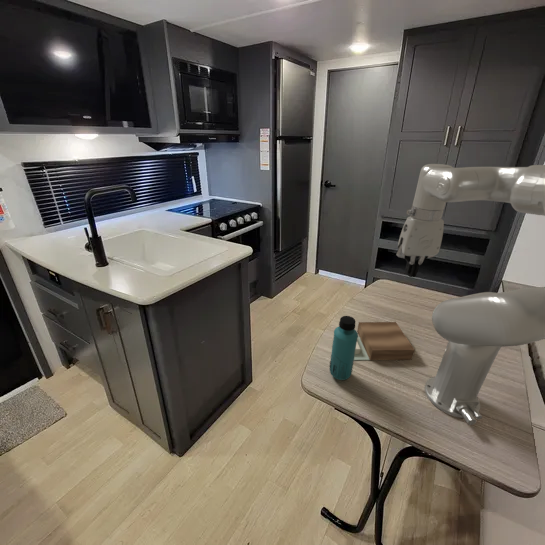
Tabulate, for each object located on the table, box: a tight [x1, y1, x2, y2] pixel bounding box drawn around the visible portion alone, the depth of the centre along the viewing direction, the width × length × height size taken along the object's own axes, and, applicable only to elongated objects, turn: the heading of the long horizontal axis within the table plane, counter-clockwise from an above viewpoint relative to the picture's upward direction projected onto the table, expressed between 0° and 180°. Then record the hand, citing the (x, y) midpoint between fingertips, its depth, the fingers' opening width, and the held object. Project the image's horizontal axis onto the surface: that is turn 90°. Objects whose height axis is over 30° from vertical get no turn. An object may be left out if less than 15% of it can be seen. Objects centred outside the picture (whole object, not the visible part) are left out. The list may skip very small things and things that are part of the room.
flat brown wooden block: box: [356, 321, 416, 361], centre depth 94 cm, size 14×13×4 cm
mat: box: [354, 335, 371, 361], centre depth 93 cm, size 11×7×1 cm, turn 1°
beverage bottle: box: [328, 315, 359, 381], centre depth 78 cm, size 6×7×20 cm
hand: (410, 274), depth 84 cm, fingers closed
